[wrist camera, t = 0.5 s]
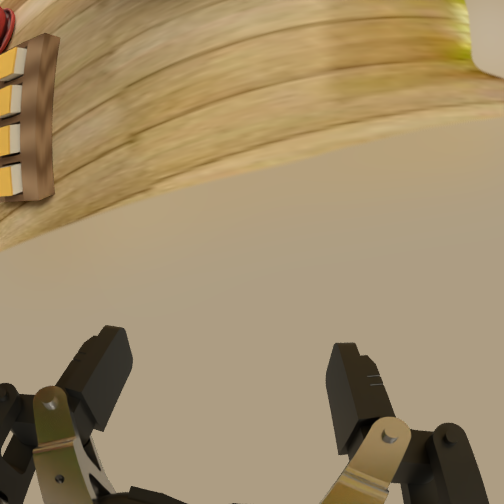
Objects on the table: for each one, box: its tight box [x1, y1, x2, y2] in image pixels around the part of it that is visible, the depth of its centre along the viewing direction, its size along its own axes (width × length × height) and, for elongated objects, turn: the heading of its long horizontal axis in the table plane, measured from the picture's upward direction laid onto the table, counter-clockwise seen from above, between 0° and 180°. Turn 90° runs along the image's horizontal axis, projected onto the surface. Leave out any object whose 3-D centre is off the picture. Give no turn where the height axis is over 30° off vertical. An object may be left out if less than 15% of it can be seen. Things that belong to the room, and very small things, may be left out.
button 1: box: [0, 47, 27, 81], centre depth 25 cm, size 4×4×4 cm
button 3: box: [0, 124, 20, 156], centre depth 29 cm, size 4×4×4 cm
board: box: [0, 33, 60, 202], centre depth 30 cm, size 25×12×4 cm, turn 177°
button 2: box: [0, 85, 22, 118], centre depth 27 cm, size 4×4×4 cm
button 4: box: [0, 163, 23, 197], centre depth 31 cm, size 4×4×4 cm
